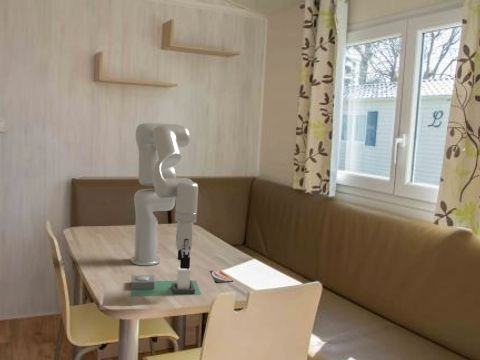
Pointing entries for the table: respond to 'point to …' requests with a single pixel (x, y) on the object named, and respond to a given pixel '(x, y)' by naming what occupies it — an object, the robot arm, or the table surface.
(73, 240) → the table surface
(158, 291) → the board
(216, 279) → the smartphone
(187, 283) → the plug
